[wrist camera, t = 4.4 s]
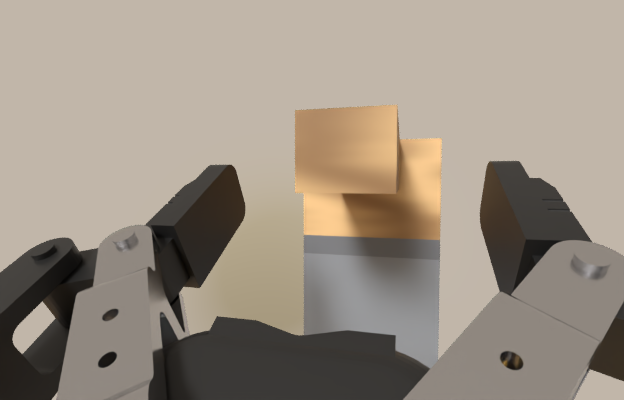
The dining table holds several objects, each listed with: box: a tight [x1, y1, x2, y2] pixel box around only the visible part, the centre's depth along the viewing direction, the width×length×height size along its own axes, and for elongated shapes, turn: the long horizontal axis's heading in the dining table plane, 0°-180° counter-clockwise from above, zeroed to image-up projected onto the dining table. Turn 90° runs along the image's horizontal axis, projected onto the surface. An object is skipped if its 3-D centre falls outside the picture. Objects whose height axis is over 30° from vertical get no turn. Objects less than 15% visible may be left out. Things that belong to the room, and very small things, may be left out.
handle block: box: [295, 105, 442, 240], centre depth 18 cm, size 7×15×5 cm, turn 165°
